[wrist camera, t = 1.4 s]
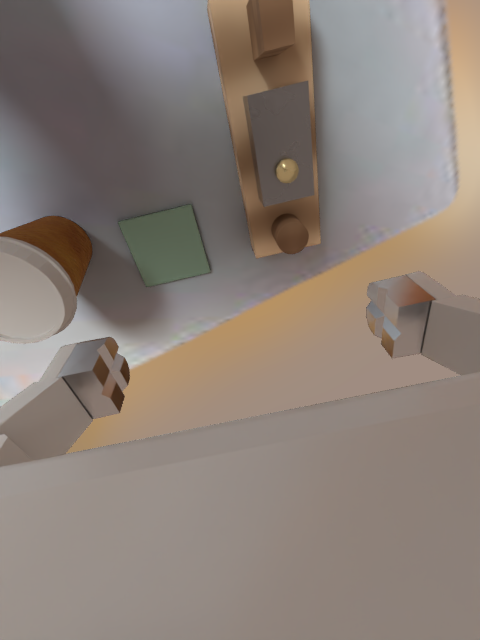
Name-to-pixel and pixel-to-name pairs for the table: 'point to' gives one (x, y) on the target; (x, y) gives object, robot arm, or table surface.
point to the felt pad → (166, 245)
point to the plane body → (257, 76)
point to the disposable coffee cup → (41, 278)
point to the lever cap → (281, 142)
